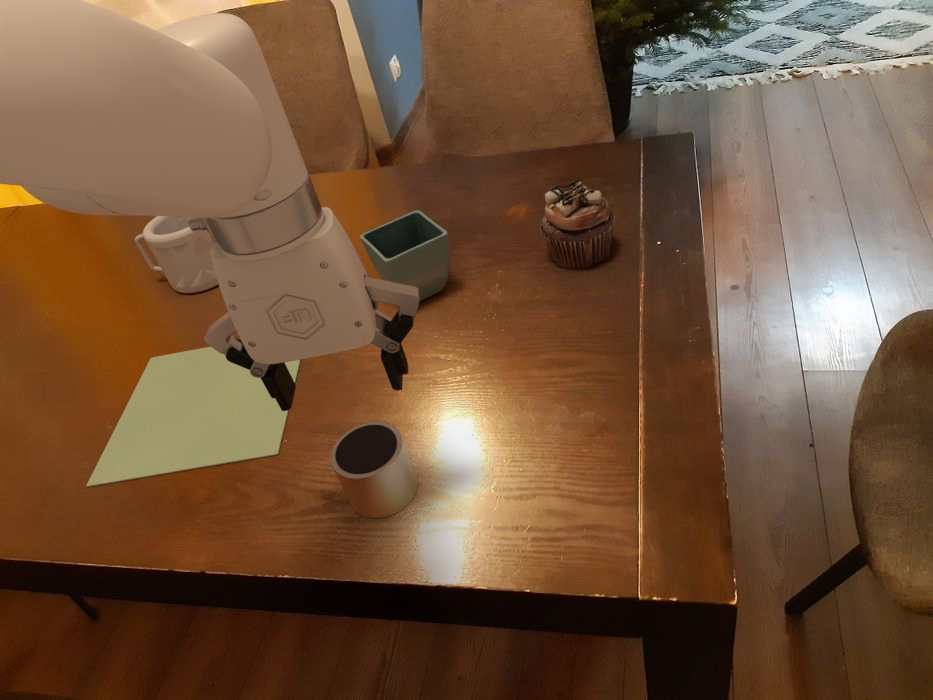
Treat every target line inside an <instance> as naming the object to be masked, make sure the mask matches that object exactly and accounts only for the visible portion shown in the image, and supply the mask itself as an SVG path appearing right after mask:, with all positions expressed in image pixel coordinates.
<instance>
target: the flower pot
mask: <svg viewBox="0 0 933 700" xmlns="http://www.w3.org/2000/svg"><path fill="white" fill-rule="evenodd" d="M359 238H360V240H361V242H362V245H363V247H364V249H365V252H366V253H367V255H368V257H369V260H370V262H371V264H372V266H373V267H374V270H375V271H376V273H377V274H378V275H379V276H380V278H381V280H385V281H390V282H395V283H399V284H404V285H409V286H414V287H417V288H418V289H419V291H420V302H421V301H423V300H425V299H427V298H429V297H432V296H434V295H435V294H438V293H440V292H442V290H443V289H444V287H445V285H446V283H447V281H448V278H449V275H450V269H451V256H450V247H449V246H450V245H449V236H448V231H447V230H446V229H445V228H443V227H442V226H441V225H439V224H438V223H437V222H435V221H433V220H432V219H431V218H429V217H428V216H427V215H426V214H425V213H423V212H422V211H421V210H418V209H416V210H413V211H411V212H408V213H407V214H404V215H402V216H400V217H397V218H396V219H393V220H391V221H389V222H386V223H385V224H382V225H379V226H377V227H374V228H373V229H370V230H368V231H366V232H364V233H362V234H360V235H359Z"/></svg>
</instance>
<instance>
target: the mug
mask: <svg viewBox="0 0 933 700" xmlns="http://www.w3.org/2000/svg"><path fill="white" fill-rule="evenodd" d="M143 239H144V241H145V243H146V245H147V247H148V248H149V250H150V251H151V253H152V255H153V257H154V258H155V260H156V262H157V264H158V265H159V266H157V265H155V264H154V262H153V260H152V258H151V257H150V255H149V254H148V252H147V250H146V248H145V246H144V245H143V243H142V242H141V240H143ZM134 242H135V245H136V246H137V248H138V250H139V251H140V253H141V255H142V256H143V258H144V260H145V262H146V263H147V265H148V267H149V269H150V270H152V271H155V272H163V274H164V276H165V278H166V279H167V281H168V283H169V285H170V286H171V288H172V289H173V290H174V291H176V292H178V293H181V294H197V293H201V292H204V291H205V292H206V291H208V290H211V289H213V288H215V287H217V286H219V284H218V281H217V278H216V275H215V271H214V268H213V264H212V260H211V255H210V250H211V248H212V246H213V245H214V244H215V243H214V241H213V239H212V237H211V235H210V233H209V232H208V231H205V232H204V231H202V230H200V231H196V232H194V231H192V230H191V229H190V227H189V225H188V222H187V218H185V217H166V216H154V218H153V219H151V220H150V221H148V222H147V224H146V225H145V226H144V228H143V231H142V233H140V234H138V235H136V237H135V238H134Z"/></svg>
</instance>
